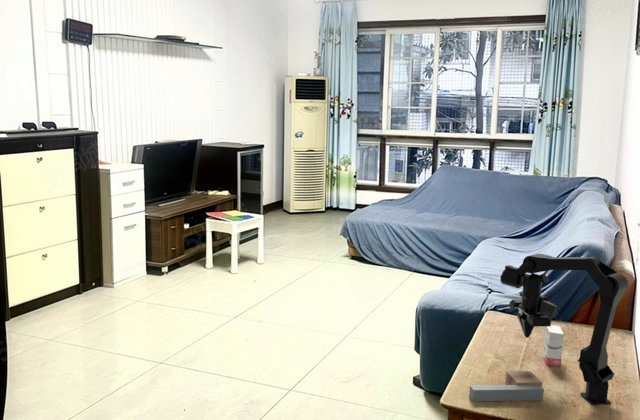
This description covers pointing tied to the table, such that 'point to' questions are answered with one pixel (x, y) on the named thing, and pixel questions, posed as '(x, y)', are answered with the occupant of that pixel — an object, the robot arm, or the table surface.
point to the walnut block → (521, 378)
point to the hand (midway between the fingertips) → (526, 337)
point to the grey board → (505, 392)
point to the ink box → (553, 345)
